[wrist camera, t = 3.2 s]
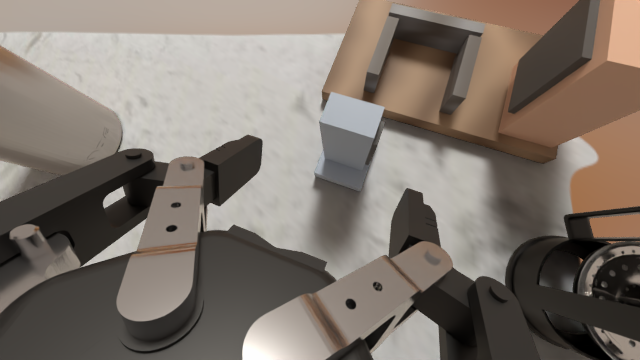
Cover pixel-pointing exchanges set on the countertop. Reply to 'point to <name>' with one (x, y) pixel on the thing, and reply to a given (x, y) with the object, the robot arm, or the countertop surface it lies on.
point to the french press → (584, 289)
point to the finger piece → (348, 140)
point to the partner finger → (577, 75)
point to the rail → (434, 72)
